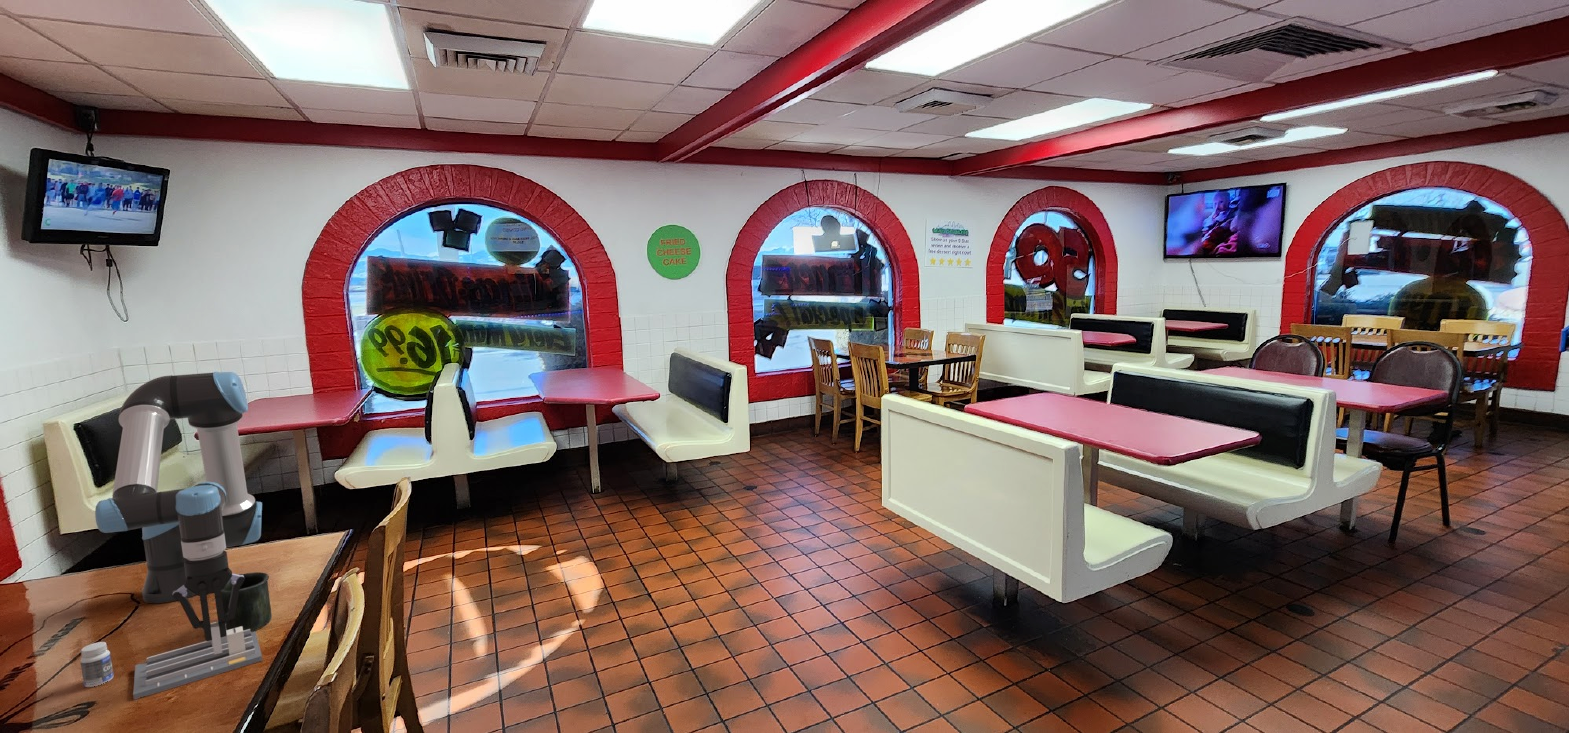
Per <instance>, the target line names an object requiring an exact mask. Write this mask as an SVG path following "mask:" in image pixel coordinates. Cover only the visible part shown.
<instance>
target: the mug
mask: <svg viewBox="0 0 1569 733" xmlns="http://www.w3.org/2000/svg"><path fill="white" fill-rule="evenodd" d="M242 574H243V575H244V578H245V580H244V582H243V583H242V585H241V587H240V590H239V596H238V601H237V606H236V612H235V617H234V618H233V619H231V620H228V621H227V622H226V630H230V629H233V628H237V627H241V626H242V627H243V631H244V630H248V629H250V632H254V631H257V630H259V629H261V628H264V627H265V626H266V625H269V623H270V622H271V620H272V617H273V614H272V608H271V599H270V592H269V591H270V590H269V582H268V580H269V579H270V576H269V574H268V573H266V572H259V571H258V572H247V573H242ZM232 586H233V584H232V583H231V579H230V580H229V581H228V583H227V584H226V586H225V587H224V588H223V590H221V594H222V602H223V609H224V615H225V614H227V612H228V607H229V602H230V596H231V591H232Z"/></svg>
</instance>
